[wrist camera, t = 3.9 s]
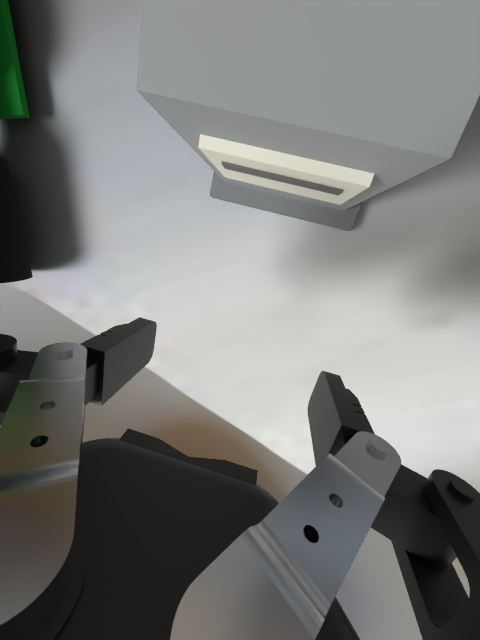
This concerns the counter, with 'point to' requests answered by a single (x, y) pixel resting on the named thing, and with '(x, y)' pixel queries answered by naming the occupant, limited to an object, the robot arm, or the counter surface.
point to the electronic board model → (3, 217)
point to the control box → (312, 94)
